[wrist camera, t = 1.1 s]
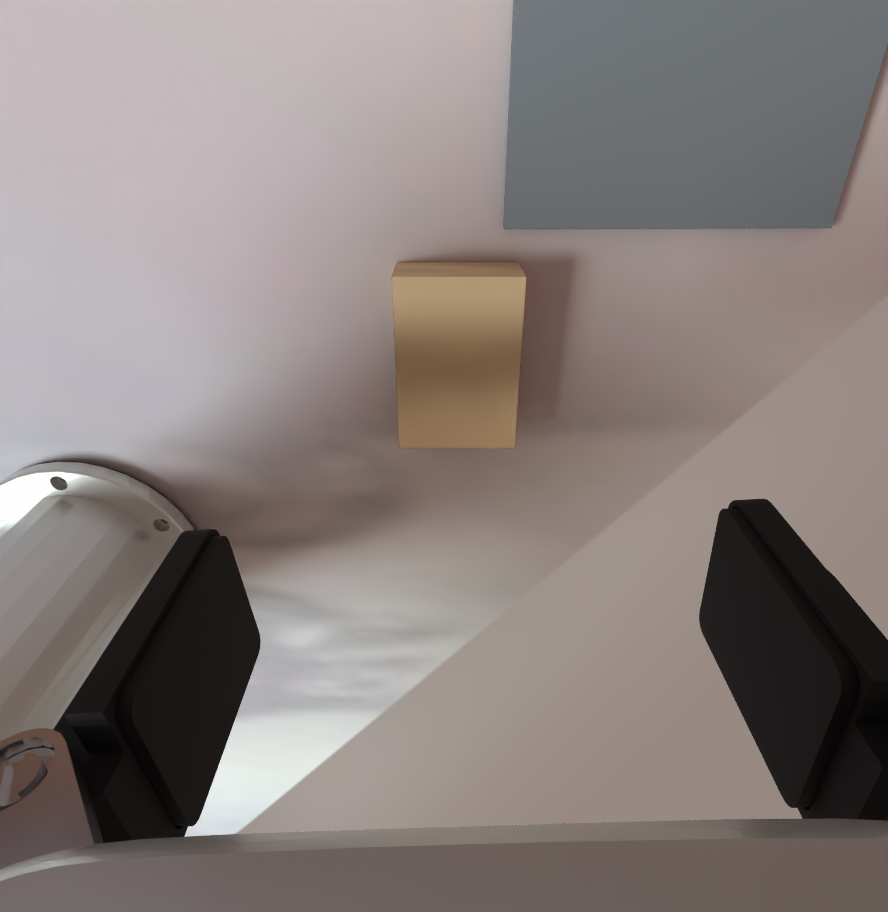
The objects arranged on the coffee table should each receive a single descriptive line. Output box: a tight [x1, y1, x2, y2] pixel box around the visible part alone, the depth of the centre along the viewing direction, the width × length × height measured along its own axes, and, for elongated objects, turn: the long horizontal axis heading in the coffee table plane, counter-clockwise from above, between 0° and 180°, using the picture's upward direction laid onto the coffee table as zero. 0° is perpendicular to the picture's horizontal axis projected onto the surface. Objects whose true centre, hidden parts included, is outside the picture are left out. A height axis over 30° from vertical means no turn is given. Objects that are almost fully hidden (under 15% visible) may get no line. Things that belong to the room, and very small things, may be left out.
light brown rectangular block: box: [392, 262, 526, 448], centre depth 27 cm, size 8×6×3 cm
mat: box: [503, 0, 888, 229], centre depth 22 cm, size 14×14×1 cm
